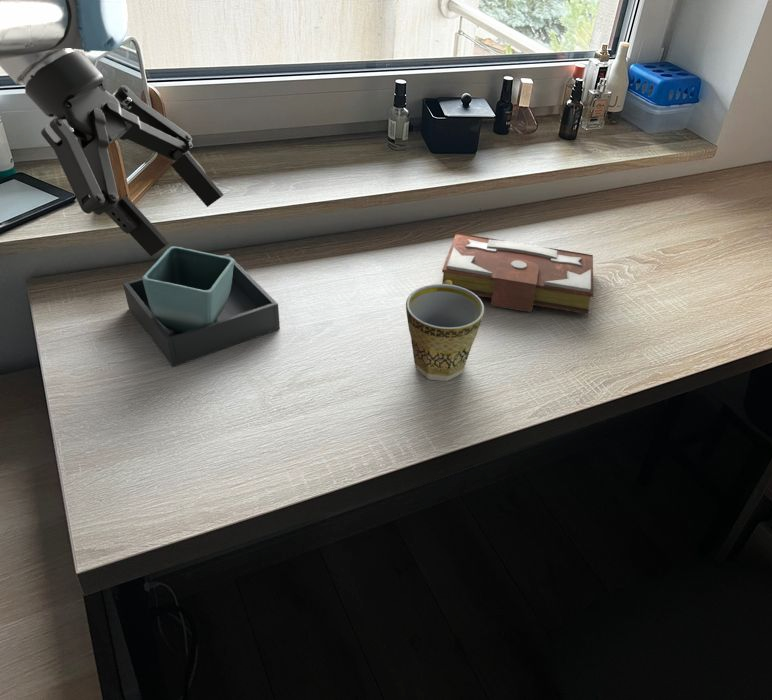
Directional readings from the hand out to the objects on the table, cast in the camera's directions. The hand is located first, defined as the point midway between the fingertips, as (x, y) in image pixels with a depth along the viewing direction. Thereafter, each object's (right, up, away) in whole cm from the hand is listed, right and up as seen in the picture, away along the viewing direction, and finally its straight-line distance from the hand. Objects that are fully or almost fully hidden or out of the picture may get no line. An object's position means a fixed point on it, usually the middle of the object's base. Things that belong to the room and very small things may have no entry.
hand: (189, 224), depth 87 cm
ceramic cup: (+30, -16, +13) cm, 36 cm away
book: (+41, -5, +29) cm, 51 cm away
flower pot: (-4, -12, +12) cm, 17 cm away
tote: (-3, -11, +14) cm, 18 cm away
